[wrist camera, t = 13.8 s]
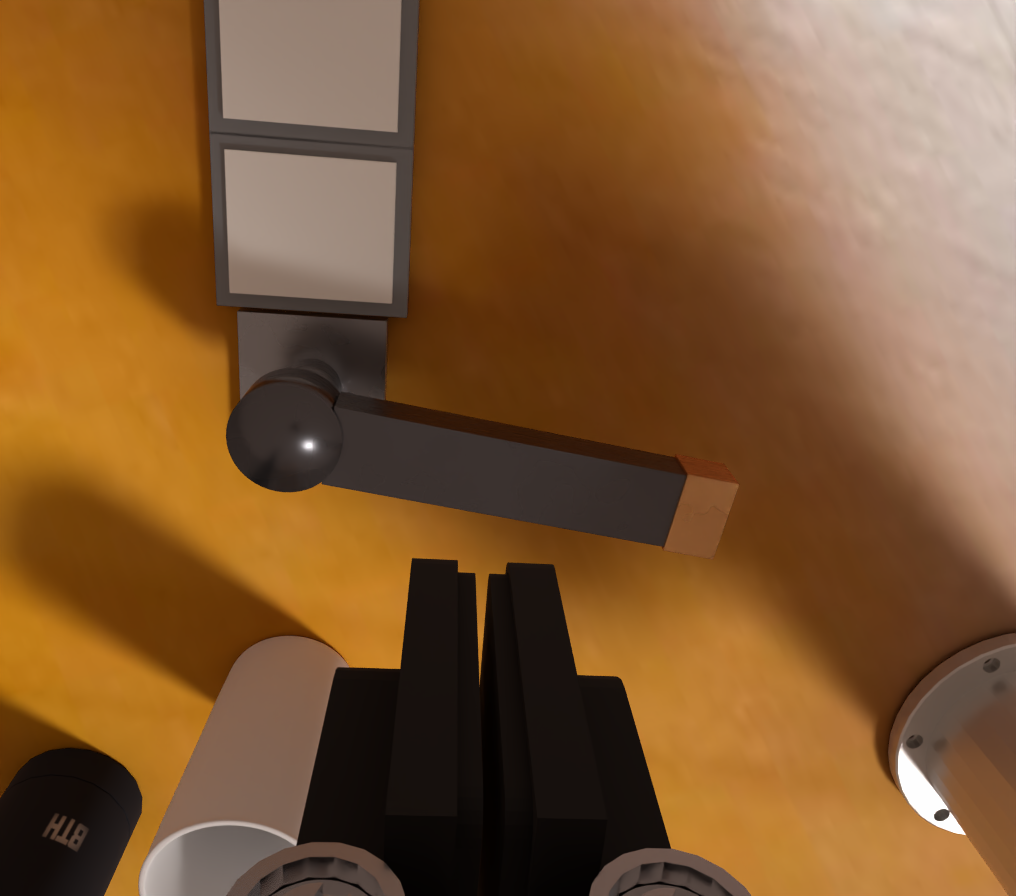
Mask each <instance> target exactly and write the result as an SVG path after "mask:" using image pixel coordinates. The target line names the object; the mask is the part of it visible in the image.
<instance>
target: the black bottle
mask: <svg viewBox="0 0 1016 896" xmlns="http://www.w3.org/2000/svg"><path fill="white" fill-rule="evenodd" d="M141 813H142V795H141V793H140V790H139V787H138V785H137V782H136V781H135V779H134V778H133V777H132V776H131V775H130V774H129V772H128V771H127V770H126V769H125V768H124V767H123V766H121V765H120V764H118V763H117V762H115V761H114V760H112V759H111V758H109V757H107V756H104V755H101V754H98V753H96V752H93V751H90V750H83V749H73V748H65V749H58V750H51V751H47V752H45V753H43V754H41V755H38V756H36V757H34V758H32V759H30V760H29V761H28V762H27V763H26V764H25V765H24V766H23V767H22V768H21V769H20V770H19V771H18V773H17V774H16V776H15V777H14V779H13V780H12V782H11V783H10V785H9V786H8V788H7V789H6V791H5V792H4V794H3V795H2V797H1V798H0V896H104V894H105V892H106V890H107V888H108V886H109V883H110V881H111V879H112V877H113V875H114V872H115V870H116V868H117V866H118V864H119V861H120V859H121V857H122V855H123V853H124V850H125V848H126V846H127V844H128V842H129V839H130V837H131V835H132V833H133V830H134V828H135V826H136V824H137V822H138V819H139V817H140V815H141Z"/></svg>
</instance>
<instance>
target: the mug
mask: <svg viewBox="0 0 1016 896" xmlns="http://www.w3.org/2000/svg"><path fill="white" fill-rule="evenodd" d="M337 667H349V666H348V664H347V663H346V662H345V660H344V659H343V658H342V657H341V656H340V655H339V654H338V653H337V652H336V651H334V650H333V649H332V648H330V647H328V646H327V645H325V644H323V643H321V642H319V641H316V640H313V639H310V638H306V637H300V636H278V637H273V638H269V639H266V640H263V641H260V642H258V643H256V644H254V645H253V646H251V647H250V648H248V649H247V650H246V651H245V652H243V653H242V654H241V655H240V657H239V658H238V659H237V660H236V662H235V663H234V665H233V666H232V668H231V670H230V672H229V674H228V676H227V679H226V681H225V683H224V685H223V687H222V689H221V691H220V693H219V695H218V697H217V700H216V702H215V704H214V706H213V709H212V711H211V713H210V715H209V718H208V720H207V722H206V725H205V727H204V729H203V731H202V734H201V736H200V738H199V740H198V742H197V745H196V747H195V749H194V751H193V754H192V756H191V758H190V760H189V762H188V765H187V767H186V769H185V771H184V773H183V776H182V778H181V780H180V782H179V785H178V787H177V789H176V791H175V793H174V796H173V798H172V800H171V802H170V804H169V807H168V809H167V811H166V813H165V815H164V818H163V820H162V822H161V824H160V827H159V829H158V831H157V834H156V836H155V838H154V841H153V843H152V845H151V848H150V850H149V853H148V855H147V857H146V859H145V861H144V863H143V865H142V868H141V871H140V875H139V895H140V896H226V895H227V894H228V892H229V891H230V889H231V888H232V886H233V885H234V883H235V882H236V881H237V879H238V878H240V877H241V876H242V875H243V874H244V873H246V872H247V871H248V870H249V869H250V868H251V867H253V866H254V865H255V864H256V863H257V862H259V861H260V860H262V859H264V858H266V857H268V856H271V855H273V854H275V853H277V852H279V851H281V850H283V849H285V848H289V847H293V846H296V844H297V840H298V835H299V831H300V826H301V822H302V817H303V812H304V808H305V803H306V799H307V794H308V790H309V785H310V781H311V776H312V772H313V767H314V763H315V758H316V754H317V749H318V745H319V740H320V736H321V731H322V727H323V722H324V718H325V713H326V709H327V704H328V700H329V695H330V691H331V686H332V682H333V677H334V674H335V670H336V669H337Z"/></svg>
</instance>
